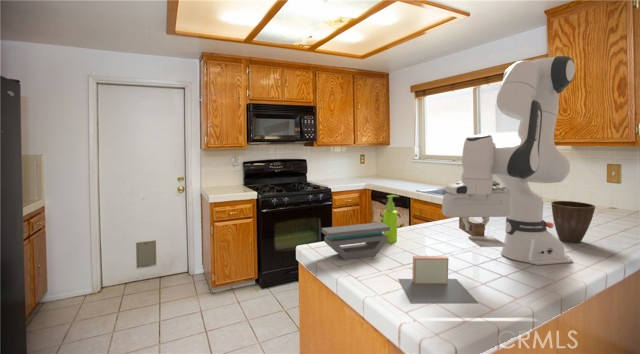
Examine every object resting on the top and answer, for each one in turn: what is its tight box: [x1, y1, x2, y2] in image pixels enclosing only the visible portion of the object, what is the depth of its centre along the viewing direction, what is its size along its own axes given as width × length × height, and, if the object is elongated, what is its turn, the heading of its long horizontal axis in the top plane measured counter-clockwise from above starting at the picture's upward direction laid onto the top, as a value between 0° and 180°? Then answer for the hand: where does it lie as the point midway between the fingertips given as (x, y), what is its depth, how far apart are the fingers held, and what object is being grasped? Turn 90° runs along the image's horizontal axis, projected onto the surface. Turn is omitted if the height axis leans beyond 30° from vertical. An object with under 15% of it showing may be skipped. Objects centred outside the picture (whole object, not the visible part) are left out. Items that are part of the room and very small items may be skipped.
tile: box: [411, 255, 449, 284], centre depth 102 cm, size 10×2×8 cm, turn 89°
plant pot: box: [551, 200, 596, 244], centre depth 144 cm, size 15×15×16 cm
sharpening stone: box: [321, 221, 390, 261], centre depth 129 cm, size 25×8×11 cm, turn 109°
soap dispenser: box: [382, 194, 400, 244], centre depth 147 cm, size 6×7×20 cm
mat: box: [397, 278, 479, 305], centre depth 97 cm, size 18×16×1 cm
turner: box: [458, 217, 505, 248], centre depth 105 cm, size 21×7×4 cm, turn 179°
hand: (475, 230), depth 107 cm, fingers closed on turner, 3 cm apart
